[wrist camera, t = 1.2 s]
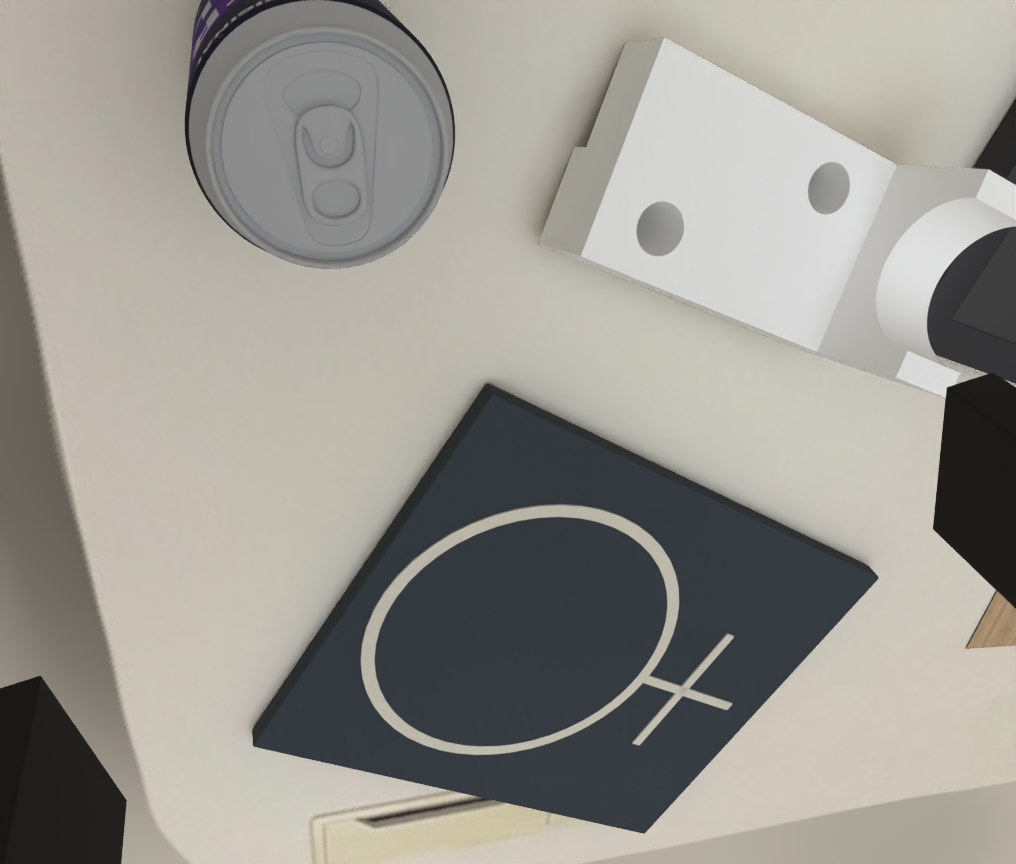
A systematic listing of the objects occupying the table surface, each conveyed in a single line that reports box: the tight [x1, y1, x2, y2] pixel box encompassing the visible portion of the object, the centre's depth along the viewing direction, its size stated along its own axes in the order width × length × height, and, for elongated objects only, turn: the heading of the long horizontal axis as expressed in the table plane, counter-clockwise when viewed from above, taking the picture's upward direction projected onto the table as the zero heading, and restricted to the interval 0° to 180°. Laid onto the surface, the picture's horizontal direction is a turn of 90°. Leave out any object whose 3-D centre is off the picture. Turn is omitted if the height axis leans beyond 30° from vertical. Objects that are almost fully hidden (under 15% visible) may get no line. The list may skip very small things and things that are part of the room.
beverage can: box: [185, 0, 455, 269], centre depth 24 cm, size 6×6×12 cm
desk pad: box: [252, 384, 878, 833], centre depth 46 cm, size 24×20×1 cm
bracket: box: [538, 37, 1016, 398], centre depth 32 cm, size 13×7×8 cm, turn 64°
